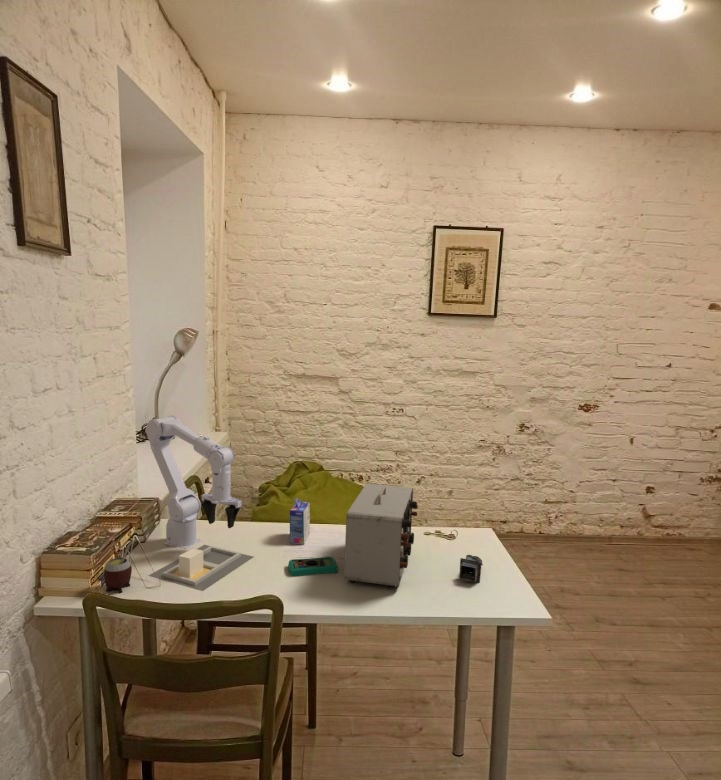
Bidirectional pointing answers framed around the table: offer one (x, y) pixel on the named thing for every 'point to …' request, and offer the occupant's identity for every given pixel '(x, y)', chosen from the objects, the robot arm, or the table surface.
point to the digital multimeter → (312, 566)
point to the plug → (191, 563)
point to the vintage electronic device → (379, 534)
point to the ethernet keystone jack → (470, 568)
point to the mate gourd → (118, 572)
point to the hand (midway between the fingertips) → (221, 525)
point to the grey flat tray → (205, 568)
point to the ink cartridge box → (299, 522)
